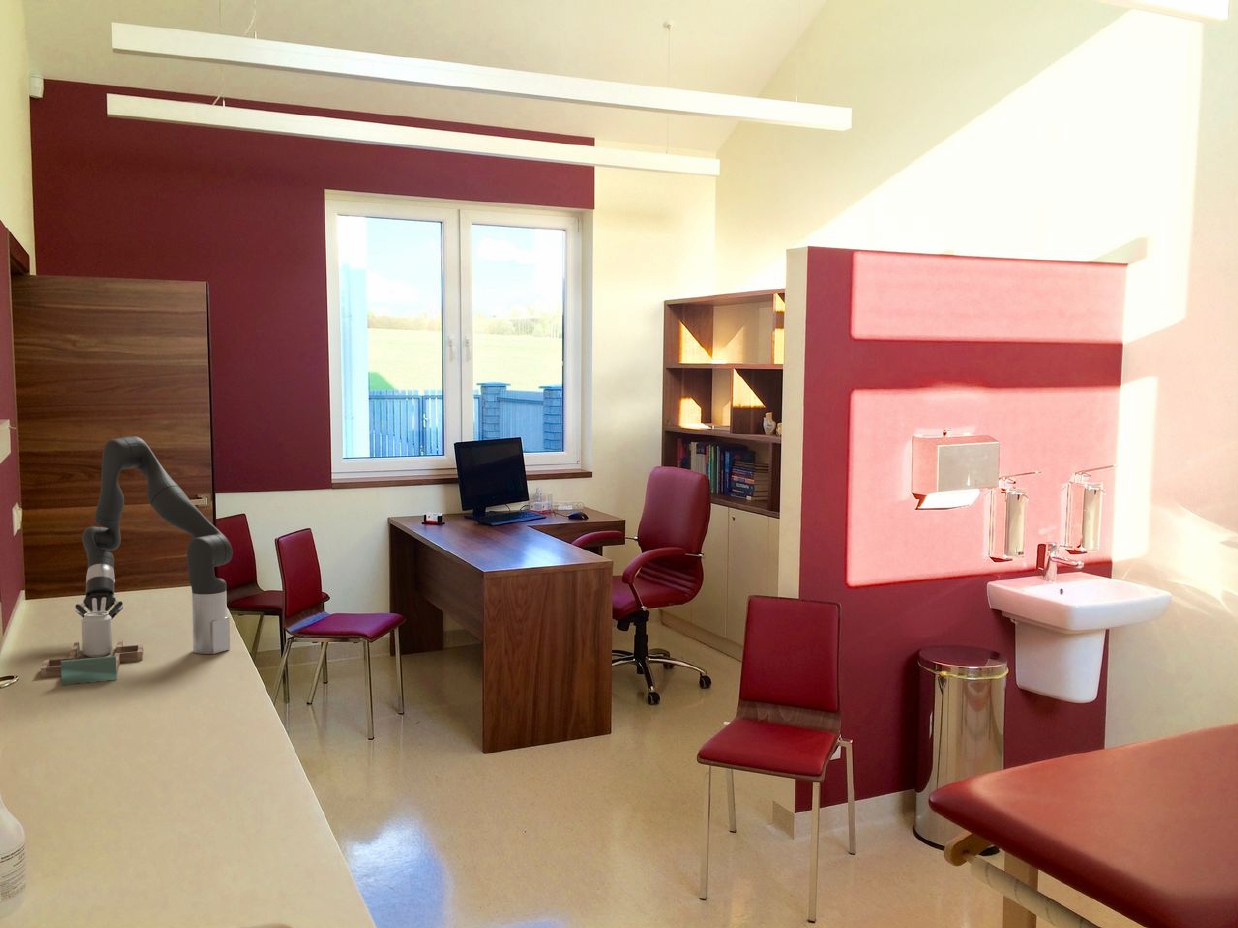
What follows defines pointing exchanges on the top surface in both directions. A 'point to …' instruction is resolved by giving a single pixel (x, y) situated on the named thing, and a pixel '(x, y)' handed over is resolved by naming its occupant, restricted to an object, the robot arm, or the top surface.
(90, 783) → the top surface
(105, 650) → the can
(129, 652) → the trap channel
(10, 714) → the top surface
